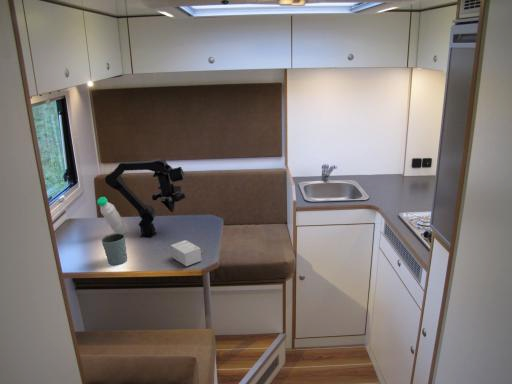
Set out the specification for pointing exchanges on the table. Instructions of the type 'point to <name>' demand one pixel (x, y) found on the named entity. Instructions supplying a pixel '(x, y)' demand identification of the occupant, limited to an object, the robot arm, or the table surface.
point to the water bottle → (112, 216)
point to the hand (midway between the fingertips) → (172, 211)
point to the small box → (186, 253)
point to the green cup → (115, 248)
